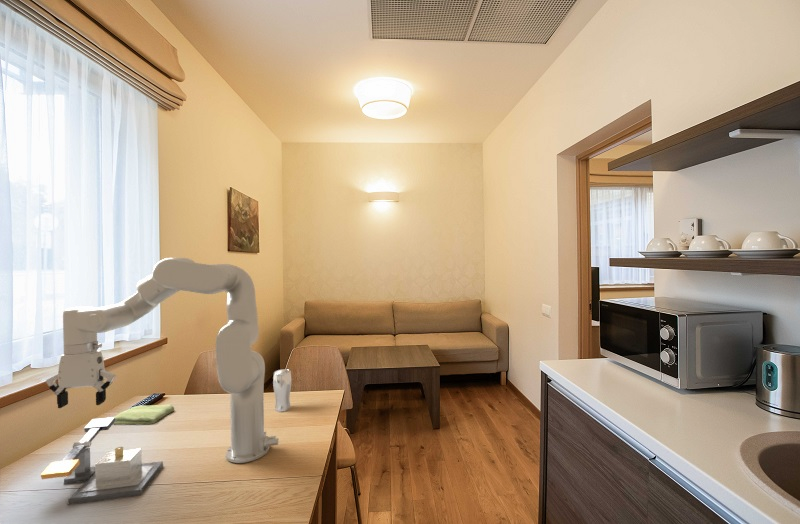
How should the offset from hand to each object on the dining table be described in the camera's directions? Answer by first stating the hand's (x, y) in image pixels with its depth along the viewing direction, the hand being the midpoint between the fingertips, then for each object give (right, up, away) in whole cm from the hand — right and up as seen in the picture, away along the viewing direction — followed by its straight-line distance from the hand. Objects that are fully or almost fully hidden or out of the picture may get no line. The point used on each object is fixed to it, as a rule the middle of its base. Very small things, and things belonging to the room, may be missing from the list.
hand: (82, 404), depth 107 cm
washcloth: (-4, -18, +30) cm, 35 cm away
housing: (+19, -16, -10) cm, 27 cm away
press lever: (+6, -9, -7) cm, 13 cm away
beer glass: (+48, -17, +37) cm, 63 cm away
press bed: (+16, -17, -10) cm, 25 cm away
